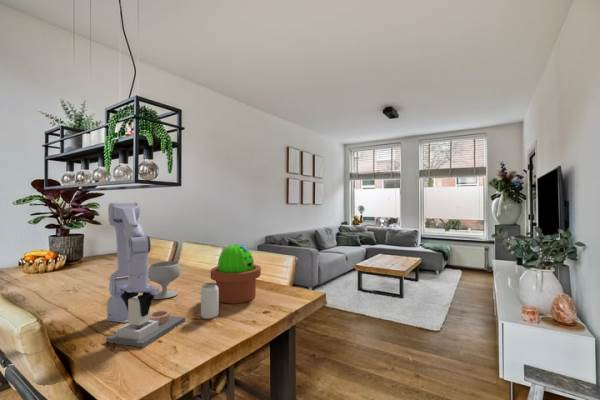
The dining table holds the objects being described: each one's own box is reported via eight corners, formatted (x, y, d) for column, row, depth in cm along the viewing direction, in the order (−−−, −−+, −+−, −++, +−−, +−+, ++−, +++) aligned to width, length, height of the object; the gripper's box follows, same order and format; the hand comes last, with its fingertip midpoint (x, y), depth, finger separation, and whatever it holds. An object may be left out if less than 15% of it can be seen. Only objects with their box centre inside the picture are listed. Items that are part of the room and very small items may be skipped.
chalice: (186, 293, 139) (186, 262, 139) (160, 302, 127) (159, 268, 127) (168, 289, 146) (168, 259, 147) (141, 297, 134) (141, 265, 134)
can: (212, 311, 117) (212, 281, 117) (221, 315, 113) (221, 284, 113) (197, 316, 112) (197, 285, 112) (207, 320, 108) (207, 288, 108)
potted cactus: (200, 301, 130) (200, 245, 130) (233, 287, 149) (233, 239, 149) (239, 309, 119) (239, 248, 119) (269, 294, 139) (269, 241, 139)
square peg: (128, 323, 94) (128, 299, 94) (138, 318, 98) (138, 295, 98) (139, 325, 93) (139, 300, 93) (149, 319, 97) (149, 296, 97)
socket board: (106, 342, 92) (106, 329, 92) (153, 317, 111) (153, 307, 111) (143, 348, 88) (143, 334, 88) (185, 321, 108) (185, 310, 108)
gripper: (109, 274, 93) (109, 317, 93) (147, 277, 90) (147, 321, 90) (128, 269, 100) (128, 309, 100) (163, 272, 96) (163, 313, 96)
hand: (138, 314), depth 95 cm, fingers closed on square peg, 4 cm apart
